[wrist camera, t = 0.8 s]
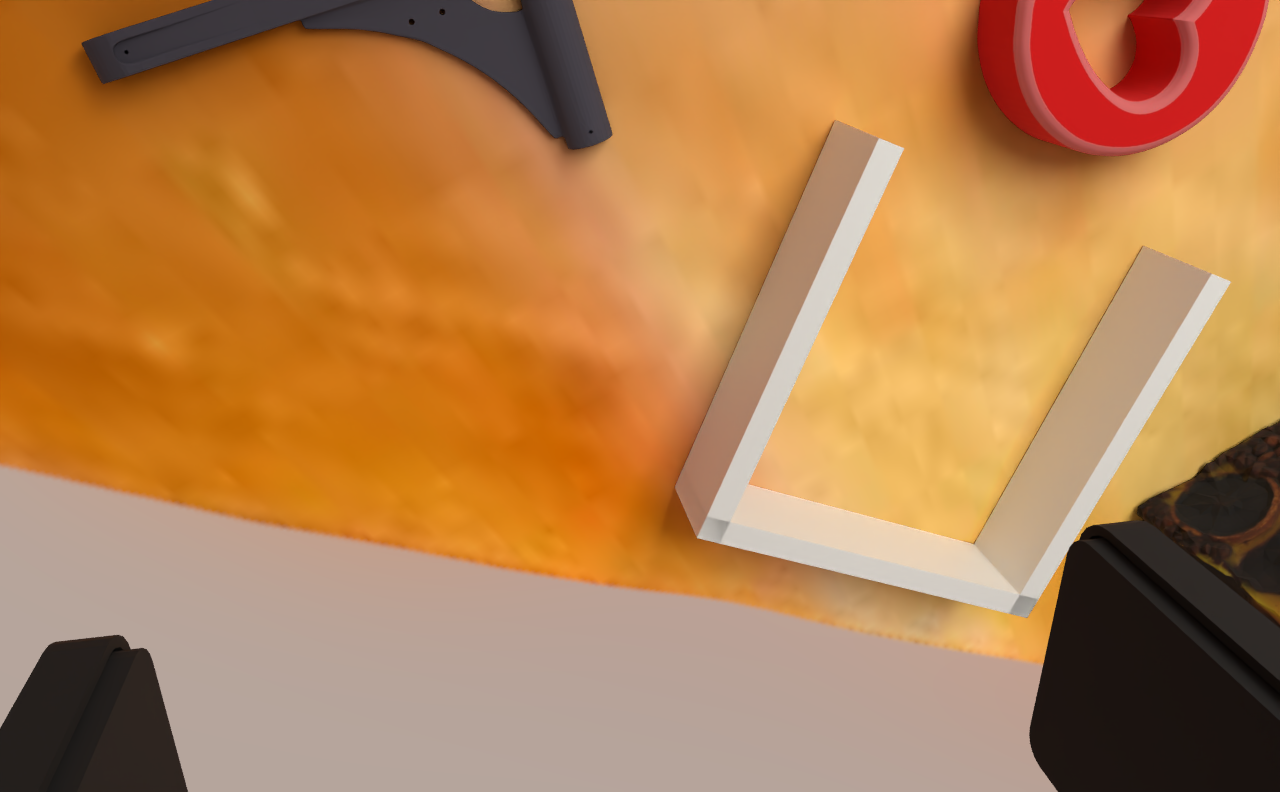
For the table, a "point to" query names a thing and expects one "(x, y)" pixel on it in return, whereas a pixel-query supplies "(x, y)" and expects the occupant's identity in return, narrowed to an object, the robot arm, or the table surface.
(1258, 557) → the olive cube with hole
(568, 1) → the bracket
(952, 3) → the table surface
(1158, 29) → the decorative ornament
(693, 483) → the rail
